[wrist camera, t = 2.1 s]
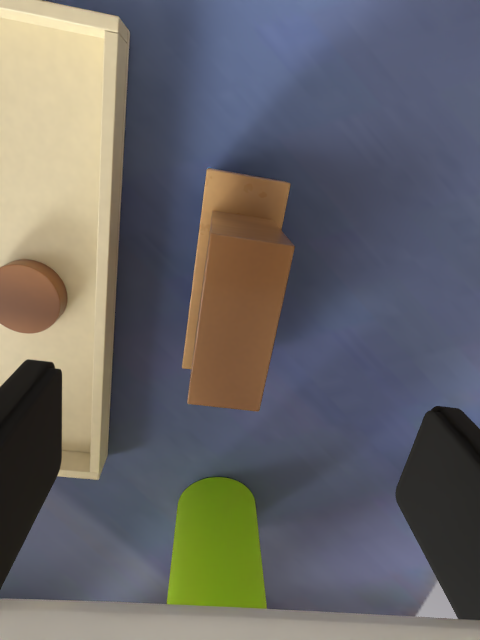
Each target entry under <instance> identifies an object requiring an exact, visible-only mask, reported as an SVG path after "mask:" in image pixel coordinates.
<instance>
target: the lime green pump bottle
mask: <svg viewBox="0 0 480 640" xmlns="http://www.w3.org/2000/svg"><path fill="white" fill-rule="evenodd" d="M167 604H174V605H196V606H218V607H240V608H260V609H267V605H266V596H265V587H264V578H263V569H262V560H261V550H260V541H259V532H258V523H257V514H256V505H255V499H254V497H253V494H252V493H251V491H250V490H249V489H248V488H247V487H246V486H245V485H243V484H242V483H240V482H238V481H236V480H233V479H230V478H224V477H212V478H206V479H202V480H200V481H197V482H195V483H193V484H192V485H190V486H189V487H188V488H187V489H186V490H185V491H184V492H183V493H182V495H181V496H180V499H179V502H178V507H177V516H176V525H175V534H174V543H173V552H172V561H171V570H170V579H169V588H168V597H167Z"/></svg>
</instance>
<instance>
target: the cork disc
mask: <svg viewBox="0 0 480 640" xmlns="http://www.w3.org/2000/svg"><path fill="white" fill-rule="evenodd" d="M67 299H68V298H67V291H66V287H65V285H64V283H63V281H62V279H61V278H60V276H59V275H58V274H57V273H56V272H55V271H54V270H53V269H51V268H50V267H49V266H47V265H45V264H43V263H41V262H38V261H35V260H30V259H19V260H15V261H12V262H9V263H7V264H6V265H4V266H2V267H0V324H2V325H3V326H5V327H6V328H8V329H10V330H13V331H16V332H19V333H27V334H31V333H38V332H41V331H44V330H46V329H48V328H49V327H51V326H52V325H53V324H54V323H55V322H56V321H57V320H58V319H59V318H60V316H61V315H62V314H63V312H64V311H65V309H66V306H67Z"/></svg>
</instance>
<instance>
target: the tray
mask: <svg viewBox="0 0 480 640" xmlns="http://www.w3.org/2000/svg"><path fill="white" fill-rule="evenodd" d="M129 41H130V31H129V30H128V29H127V27H126V26H125V25H124V23H123V22H122V20H121V19H120V18H119V17H118V16H114V15H110V14H105V13H100V12H95V11H91V10H86V9H81V8H76V7H72V6H67V5H62V4H57V3H53V2H48V1H43V0H0V267H2V266H4V265H6V264H7V263H9V262H12V261H15V260H19V259H30V260H35V261H38V262H41V263H43V264H45V265H47V266H49V267H50V268H51V269H53V270H54V271H55V272H56V273H57V274H58V275H59V276H60V278H61V279H62V281H63V283H64V285H65V287H66V291H67V298H68V299H67V306H66V309H65V311H64V312H63V314H62V315H61V316H60V318H59V319H58V320H57V321H56V322H55V323H54V324H53V325H52V326H51V327H49V328H48V329H46V330H44V331H41V332H38V333H31V334H27V333H19V332H16V331H13V330H10V329H8V328H6V327H5V326H3V325H2V324H0V387H1V386H2V384H3V383H4V382H5V381H6V380H7V379H8V378H9V377H10V376H11V375H12V374H13V373H14V372H15V371H16V370H17V369H18V368H19V366H20V365H21V364H22V363H23V362H24V361H25V360H27V359H30V360H39V361H48V362H53V363H54V366H55V368H56V369H61V371H62V461H61V466H60V470H59V473H58V475H57V476H60V477H72V478H83V479H95V480H98V479H99V478H100V475H101V472H102V469H103V467H104V464H105V461H106V458H107V455H108V437H109V418H110V399H111V380H112V361H113V342H114V323H115V305H116V286H117V267H118V248H119V229H120V210H121V192H122V173H123V154H124V135H125V116H126V97H127V78H128V60H129Z"/></svg>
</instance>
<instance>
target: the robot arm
mask: <svg viewBox="0 0 480 640" xmlns="http://www.w3.org/2000/svg"><path fill="white" fill-rule="evenodd" d="M61 461H62V371H61V369H56V368H55V366H54V363H53V362H48V361H39V360H30V359H27V360H25V361H24V362H23V363H22V364H21V365H20V366H19V368H18V369H17V370H16V371H15V372H14V373H13V374H12V375H11V376H10V377H9V378H8V379H7V380H6V381H5V382H4V383H3V384H2V386H1V387H0V589H1V587H2V585H3V583H4V581H5V579H6V577H7V575H8V573H9V571H10V569H11V567H12V565H13V563H14V561H15V559H16V557H17V555H18V553H19V551H20V549H21V547H22V545H23V543H24V541H25V539H26V537H27V535H28V533H29V531H30V529H31V527H32V525H33V523H34V521H35V519H36V517H37V515H38V513H39V511H40V509H41V507H42V505H43V503H44V501H45V499H46V497H47V495H48V493H49V491H50V489H51V487H52V485H53V483H54V481H55V479H56V477H57V475H58V473H59V470H60V466H61ZM396 501H397V503H398V505H399V507H400V509H401V511H402V513H403V515H404V517H405V519H406V521H407V522H408V524H409V526H410V528H411V530H412V532H413V534H414V536H415V538H416V540H417V541H418V543H419V545H420V547H421V549H422V551H423V553H424V555H425V557H426V559H427V560H428V562H429V564H430V566H431V568H432V570H433V572H434V574H435V576H436V578H437V579H438V581H439V583H440V585H441V587H442V589H443V591H444V593H445V595H446V596H447V598H448V600H449V602H450V604H451V606H452V608H453V610H454V612H455V613H456V615H457V617H458V619H447V618H430V617H413V616H395V615H376V614H357V613H338V612H319V611H300V610H280V609H260V608H240V607H218V606H196V605H174V604H152V603H131V602H109V601H76V600H40V599H0V640H480V429H479V428H478V427H477V426H476V425H475V424H474V423H473V422H472V421H471V420H470V419H469V418H468V417H467V416H466V415H465V414H464V412H463V411H461V410H460V409H457V408H450V407H441V406H436V407H434V408H433V409H432V410H431V411H428V412H427V413H426V414H425V416H424V418H423V421H422V423H421V426H420V429H419V431H418V434H417V436H416V439H415V441H414V444H413V447H412V449H411V452H410V454H409V457H408V459H407V462H406V465H405V467H404V470H403V472H402V475H401V477H400V480H399V482H398V485H397V488H396Z"/></svg>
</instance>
